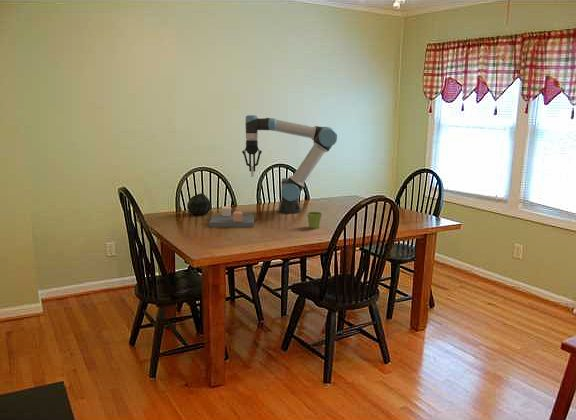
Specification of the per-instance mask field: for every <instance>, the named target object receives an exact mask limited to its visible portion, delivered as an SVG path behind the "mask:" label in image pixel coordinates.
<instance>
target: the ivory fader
mask: <svg viewBox="0 0 576 420" xmlns="http://www.w3.org/2000/svg"><path fill="white" fill-rule="evenodd" d="M231 209H232V208H231V206H222V207H221V214H222V216H230V215H231V214H232V211H231Z"/></svg>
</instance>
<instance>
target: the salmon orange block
mask: <svg viewBox="0 0 576 420" xmlns="http://www.w3.org/2000/svg"><path fill="white" fill-rule="evenodd" d="M233 214H234V222H242V214H243V211H237V210H235V211H233Z"/></svg>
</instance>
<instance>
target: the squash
mask: <svg viewBox="0 0 576 420" xmlns="http://www.w3.org/2000/svg"><path fill="white" fill-rule="evenodd" d="M186 206H187V211H188V213H190V214H191V215H201V216H206V215H207V214H209V212H210V211H211V201H210V199H209V198H208V197H207V196H206V195H205V193H202V192H201V193H197V194H196V195H193V196H192V197H190V198H189V200H188V202H187V205H186Z"/></svg>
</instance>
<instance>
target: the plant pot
mask: <svg viewBox="0 0 576 420" xmlns="http://www.w3.org/2000/svg"><path fill="white" fill-rule="evenodd" d="M306 215H307V220H308V221H307V222H308V227H310V229H319V228H320V226H321V225H320V224H321V219H322V215H323V213H322V212H320V211H307V212H306ZM318 227H319V228H318Z"/></svg>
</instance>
